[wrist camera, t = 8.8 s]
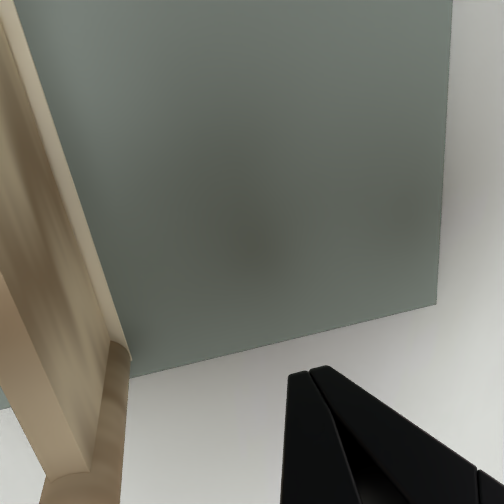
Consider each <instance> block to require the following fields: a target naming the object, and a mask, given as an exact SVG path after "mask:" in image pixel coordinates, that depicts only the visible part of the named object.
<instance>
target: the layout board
mask: <svg viewBox="0 0 504 504" xmlns="http://www.w3.org/2000/svg"><path fill="white" fill-rule="evenodd" d="M452 2H453V0H0V22H1V25H2V28H3V31H4V34H5V37H6V40H7V43H8V46H9V48H10V51H11V54H12V57H13V60H14V63H15V66H16V69H17V72H18V74H19V77H20V80H21V83H22V86H23V89H24V92H25V95H26V98H27V101H28V103H29V106H30V109H31V112H32V115H33V118H34V121H35V124H36V127H37V129H38V132H39V135H40V138H41V141H42V144H43V147H44V150H45V153H46V155H47V158H48V161H49V164H50V167H51V170H52V173H53V176H54V179H55V182H56V184H57V187H58V190H59V193H60V196H61V199H62V202H63V205H64V208H65V210H66V213H67V216H68V219H69V222H70V225H71V228H72V231H73V234H74V236H75V239H76V242H77V245H78V248H79V251H80V254H81V257H82V260H83V263H84V265H85V268H86V271H87V274H88V277H89V280H90V283H91V286H92V289H93V291H94V294H95V297H96V300H97V303H98V306H99V309H100V312H101V315H102V317H103V320H104V323H105V326H106V329H107V332H108V335H109V338H110V340H111V341H115V342H117V343H119V344H121V345H122V346H124V347H125V348H126V349H127V351H128V352H129V355H130V359H131V362H130V375H129V379H130V378H134V377H138V376H142V375H146V374H150V373H155V372H159V371H163V370H167V369H171V368H175V367H179V366H183V365H188V364H192V363H196V362H200V361H204V360H208V359H212V358H217V357H221V356H225V355H229V354H233V353H237V352H241V351H245V350H250V349H254V348H258V347H262V346H266V345H270V344H274V343H279V342H283V341H287V340H291V339H295V338H299V337H303V336H307V335H312V334H316V333H320V332H324V331H328V330H332V329H336V328H340V327H345V326H349V325H353V324H357V323H361V322H365V321H369V320H374V319H378V318H382V317H386V316H390V315H394V314H398V313H402V312H407V311H411V310H415V309H419V308H423V307H427V306H431V305H436V300H437V282H438V263H439V244H440V226H441V207H442V189H443V170H444V151H445V133H446V114H447V95H448V77H449V58H450V40H451V21H452ZM10 407H11V406H10V404H9V402H8V400H7V398H6V396H5V394H4V392H3V390H2V388H1V386H0V410H2V409H6V408H10Z"/></svg>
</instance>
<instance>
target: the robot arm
mask: <svg viewBox="0 0 504 504" xmlns="http://www.w3.org/2000/svg"><path fill="white" fill-rule="evenodd" d="M280 504H504V485H503V484H501V483H500V482H498V481H497V480H495V479H494V478H493V477H491V476H490V475H488V474H487V473H485V472H484V471H482V470H478V471H477V467H476V466H475V465H473V464H472V463H470V462H469V461H467V460H466V459H465V458H463V457H462V456H460V455H459V454H457V453H456V452H454V451H453V450H451V449H450V448H448V447H447V446H446V445H444V444H443V443H441V442H440V441H438V440H437V439H435V438H434V437H432V436H431V435H429V434H428V433H427V432H425V431H424V430H422V429H421V428H419V427H418V426H416V425H415V424H413V423H412V422H411V421H409V420H408V419H406V418H405V417H403V416H402V415H400V414H399V413H397V412H396V411H394V410H393V409H392V408H390V407H389V406H387V405H386V404H384V403H383V402H381V401H380V400H378V399H377V398H375V397H374V396H373V395H371V394H370V393H368V392H367V391H365V390H364V389H362V388H361V387H359V386H358V385H356V384H355V383H354V382H352V381H351V380H349V379H348V378H346V377H345V376H343V375H342V374H340V373H339V372H338V371H336V370H335V369H333V368H332V367H330V366H327V365H325V366H321V367H317V368H313V369H310V371H309V372H307V371H301V372H297V373H293V374H290V375H289V376H288V384H287V399H286V415H285V431H284V447H283V463H282V478H281V494H280Z"/></svg>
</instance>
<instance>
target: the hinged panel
mask: <svg viewBox="0 0 504 504" xmlns="http://www.w3.org/2000/svg"><path fill="white" fill-rule="evenodd" d="M130 362H131V359H130V355H129V352H128V351H127V349H126V348H125V347H124V346H122V345H121V344H119V343H117V342H115V341H111V340H110V338H109V335H108V332H107V329H106V326H105V323H104V320H103V317H102V315H101V312H100V309H99V306H98V303H97V300H96V297H95V294H94V291H93V289H92V286H91V283H90V280H89V277H88V274H87V271H86V268H85V265H84V263H83V260H82V257H81V254H80V251H79V248H78V245H77V242H76V239H75V236H74V234H73V231H72V228H71V225H70V222H69V219H68V216H67V213H66V210H65V208H64V205H63V202H62V199H61V196H60V193H59V190H58V187H57V184H56V182H55V179H54V176H53V173H52V170H51V167H50V164H49V161H48V158H47V155H46V153H45V150H44V147H43V144H42V141H41V138H40V135H39V132H38V129H37V127H36V124H35V121H34V118H33V115H32V112H31V109H30V106H29V103H28V101H27V98H26V95H25V92H24V89H23V86H22V83H21V80H20V77H19V74H18V72H17V69H16V66H15V63H14V60H13V57H12V54H11V51H10V48H9V46H8V43H7V40H6V37H5V34H4V31H3V28H2V25H1V22H0V386H1V388H2V390H3V392H4V394H5V396H6V398H7V400H8V402H9V404H10V406H11V408H12V409H13V411H14V413H15V415H16V417H17V419H18V421H19V423H20V425H21V427H22V429H23V431H24V433H25V435H26V437H27V439H28V441H29V443H30V445H31V447H32V449H33V451H34V452H35V454H36V456H37V458H38V460H39V462H40V464H41V466H42V468H43V470H44V472H45V474H46V478H45V482H44V486H43V490H42V494H41V498H40V502H39V504H120V493H121V480H122V467H123V454H124V441H125V428H126V415H127V401H128V388H129V375H130Z"/></svg>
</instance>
